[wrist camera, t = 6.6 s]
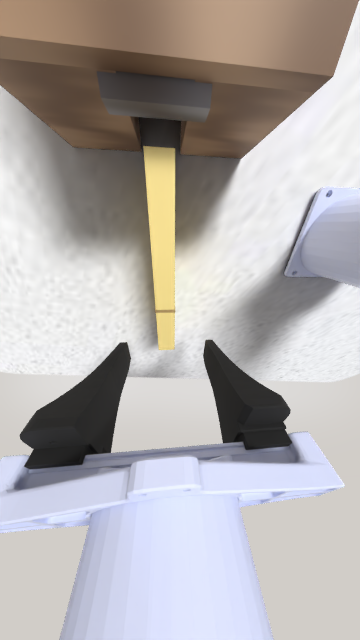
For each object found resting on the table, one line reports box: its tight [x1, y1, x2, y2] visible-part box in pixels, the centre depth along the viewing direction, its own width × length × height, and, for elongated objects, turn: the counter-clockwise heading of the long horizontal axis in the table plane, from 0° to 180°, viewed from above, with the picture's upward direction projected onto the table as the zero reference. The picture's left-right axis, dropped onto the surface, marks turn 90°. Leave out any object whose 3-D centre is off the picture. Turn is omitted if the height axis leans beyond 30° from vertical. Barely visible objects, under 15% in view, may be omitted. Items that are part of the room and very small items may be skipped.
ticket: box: [143, 146, 175, 350], centre depth 13 cm, size 2×14×6 cm, turn 179°
